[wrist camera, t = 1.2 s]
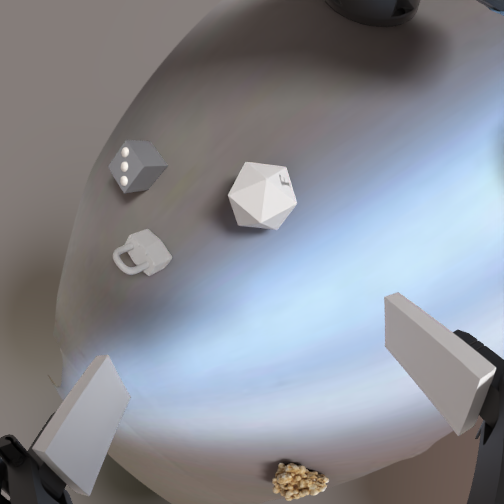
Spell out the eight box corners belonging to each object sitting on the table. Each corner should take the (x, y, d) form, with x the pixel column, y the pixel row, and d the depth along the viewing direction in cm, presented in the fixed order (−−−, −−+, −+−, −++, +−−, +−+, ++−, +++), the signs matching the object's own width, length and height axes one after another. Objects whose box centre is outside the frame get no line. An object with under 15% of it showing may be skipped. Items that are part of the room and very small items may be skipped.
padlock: (175, 255, 47) (136, 274, 38) (164, 269, 49) (126, 289, 40) (149, 226, 47) (108, 239, 38) (140, 241, 49) (100, 256, 40)
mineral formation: (335, 473, 50) (301, 491, 55) (295, 448, 54) (264, 468, 59) (327, 496, 43) (290, 510, 48) (282, 470, 47) (251, 487, 52)
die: (294, 231, 39) (313, 206, 30) (234, 243, 38) (235, 220, 29) (280, 180, 41) (293, 144, 32) (222, 189, 40) (221, 154, 31)
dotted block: (150, 141, 43) (125, 139, 37) (168, 165, 43) (143, 166, 37) (131, 166, 46) (106, 167, 40) (147, 190, 46) (123, 194, 40)
